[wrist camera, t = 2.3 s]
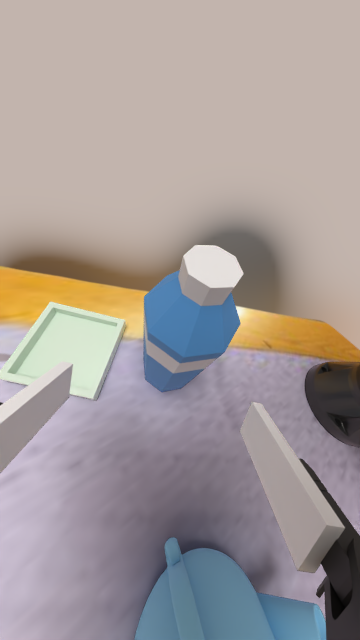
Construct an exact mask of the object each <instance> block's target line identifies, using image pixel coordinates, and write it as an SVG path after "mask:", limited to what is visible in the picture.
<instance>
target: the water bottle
mask: <svg viewBox="0 0 360 640" xmlns="http://www.w3.org/2000/svg"><path fill="white" fill-rule="evenodd" d="M242 275H243V271H242V269H241V267H240V265H239V263H238V261H237V259H236V257H235V256H233V255H231V254H230V253H228V252H226V251H225V250H223V249H221V248H219V247H218V246H210V245H209V246H208V245H195V246H194V247H193V248H192V249H191V250H189V251H188V252H187V253H186V254H185V255H184V256H183V259H182V264H181V268H180V270H179V271H177V272H175V273H172V274H170V275H168V276H166V277H165V278H164V279H163V280H162V281H161V282H160V283H159V284H158V285H156V286H155V287H154V288H153V289H152V290H151V291H150V292H149V293H148V294H146V295H145V296H144V370H145V380H147V381H148V382H149V383H151V384H152V385H153V386H154V387H156V388H157V389H158V390H159V391H161V392H164V391H170V390H175V389H181V388H182V387H183V386H185V385H186V384H187V383H188V382H189V381H191V380H192V379H193V378H194V377H195V376H197V375H198V374H199V373H200V372H201V371H203V370H204V369H205V368H206V367H207V366H209V365H210V364H211V363H212V362H213V361H215V360H216V359H217V358H218V357H219V356H221V355H222V354H223V353H224V352H225V350H226V349H227V347H228V345H229V343H230V341H231V340H232V338H233V336H234V334H235V332H236V331H237V329H238V327H239V325H240V320H239V317H238V314H237V310H236V307H235V304H234V300H233V297H232V294H231V291H232V290H233V288H234V287H235V285H236V284H237V282H238V281H239V279H240V278H241V276H242Z"/></svg>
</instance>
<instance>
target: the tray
mask: <svg viewBox="0 0 360 640" xmlns="http://www.w3.org/2000/svg"><path fill="white" fill-rule="evenodd" d="M125 328H126V323H125V320H123V319H119V318H115V317H111V316H106V315H102V314H98V313H94V312H90V311H86V310H82V309H78V308H74V307H70V306H66V305H62V304H58V303H54V302H50V303H49V304H48V306H47V307H46V308H45V310H44V311H43V313H42V314H41V315H40V317H39V318H38V319H37V321H36V322H35V324H34V325H33V326H32V328H31V329H30V330H29V332H28V333H27V335H26V336H25V337H24V339H23V340H22V341H21V343H20V344H19V346H18V347H17V348H16V350H15V351H14V352H13V354H12V355H11V357H10V358H9V359H8V361H7V362H6V363H5V365H4V366H3V368H2V369H1V370H0V379H1V380H4V381H8V382H13V383H18V384H22V385H27V386H28V385H30V384H31V383H32V382H34V381H35V380H37V379H38V378H39V377H41V376H42V375H43V374H45V373H46V372H48V371H49V370H50V369H52V368H53V367H55V366H56V365H57V364H59V363H60V362H61V361H63V362H68V363H72V364H73V369H72V377H71V386H70V394H69V395H74V396H78V397H83V398H88V399H92V400H97V398H98V396H99V393H100V391H101V388H102V386H103V383H104V381H105V378H106V376H107V373H108V371H109V368H110V365H111V363H112V360H113V358H114V355H115V353H116V350H117V348H118V345H119V343H120V340H121V338H122V335H123V333H124V330H125Z"/></svg>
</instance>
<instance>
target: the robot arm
mask: <svg viewBox="0 0 360 640" xmlns="http://www.w3.org/2000/svg"><path fill="white" fill-rule="evenodd" d="M72 369H73V364H72V363H68V362H63V361H61V362H60V363H59V364H57V365H56V366H55V367H53V368H52V369H50V370H49V371H48V372H46V373H45V374H43V375H42V376H41V377H39V378H38V379H37V380H35V381H34V382H32V383H31V384H30V385H28V386H27V387H25V388H24V389H23V390H21V391H20V392H19V393H17V394H16V395H14V396H13V397H12V398H10V399H9V400H7V401H6V402H5V403H0V473H1V472H2V471H3V470H4V469H5V468H6V467H7V465H8V464H9V463H10V462H11V461H12V460H13V459H14V458H15V457H16V456H17V454H18V453H19V452H20V451H21V450H22V449H23V448H24V447H25V446H26V444H27V443H28V442H29V441H30V440H31V439H32V438H33V437H34V436H35V435H36V433H37V432H38V431H39V430H40V429H41V428H42V427H43V426H44V425H45V423H46V422H47V421H48V420H49V419H50V418H51V417H52V416H53V415H54V414H55V412H56V411H57V410H58V409H59V408H60V407H61V406H62V405H63V404H64V402H65V401H66V400H67V399H68V398H69V394H70V386H71V377H72ZM305 389H306V395H307V399H308V402H309V404H310V406H311V409H312V411H313V412H314V414H315V416H316V417H317V419H318V420H319V422H320V423H321V424H322V425H323V426H324V428H325V429H326V430H327V431H328V432H329V433H331V434H332V435H333V436H334V437H336V438H337V439H338V440H340V441H342V442H344V443H346V444H348V445H352V446H357V447H360V362H326V363H322V364H319V365H316V366H314V367H312V368H311V369H310V370H309V372H308V374H307V376H306V381H305ZM240 433H241V435H242V438H243V440H244V442H245V445H246V447H247V450H248V452H249V455H250V457H251V459H252V462H253V464H254V467H255V469H256V472H257V474H258V476H259V479H260V481H261V484H262V486H263V488H264V491H265V493H266V496H267V498H268V501H269V503H270V505H271V508H272V510H273V513H274V515H275V518H276V520H277V522H278V525H279V527H280V530H281V532H282V535H283V537H284V539H285V542H286V544H287V547H288V549H289V552H290V554H291V556H292V559H293V561H294V564H295V566H296V569H297V571H303V572H310V573H315V572H316V570H317V569H318V567H319V566H320V564H322V566H323V568H324V570H325V572H326V574H327V576H326V577H325V579H324V580H323V582H322V583H321V584H320V586H319V587H318V589H317V593H316V595H317V596H318V597H319V598H320V597H321V595H322V594H323V593H324V592H325V616H326V640H360V536H359V534H358V533H357V532H356V530H355V529H354V527H353V526H352V525H351V523H350V522H349V520H348V519H347V518H346V516H345V515H344V513H343V512H342V511H341V509H340V508H339V506H338V505H337V503H336V502H335V501H334V499H333V498H332V496H331V495H330V494H329V493H328V492H327V489H326V488H325V487H324V485H323V484H322V483H321V482H320V479H319V478H318V477H317V475H316V474H315V472H314V471H313V470H312V469H311V468H310V467H309V466H308V464H307V463H306V462H305V461H304V460H303V459H299V458H298V457H297V456H296V454H295V453H294V451H293V450H292V448H291V447H290V445H289V444H288V442H287V441H286V439H285V438H284V436H283V435H282V433H281V432H280V430H279V429H278V428H277V426H276V425H275V423H274V422H273V420H272V419H271V417H270V416H269V414H268V413H267V411H266V410H265V408H264V407H263V405H262V404H261V403H256V402H251V405H250V407H249V410H248V412H247V415H246V417H245V420H244V422H243V424H242V427H241V429H240Z"/></svg>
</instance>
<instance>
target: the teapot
mask: <svg viewBox="0 0 360 640" xmlns="http://www.w3.org/2000/svg"><path fill="white" fill-rule="evenodd" d="M165 555H166V560H167V568H166V570H165V571H164V572H163V573H162V575H161V576H160V577H159V579H158V581H157V582H156V584H155V586H154V587H153V589H152V591H151V593H150V595H149V597H148V599H147V602H146V604H145V607H144V609H143V612H142V614H141V617H140V621H139V624H138V627H137V630H136V634H135V639H134V640H326V621H325V618H324V616H323V614H322V611H321V609H320V608H319V606H318V605H317V604H314V603H309V602H303V601H298V600H293V599H288V598H283V597H278V596H273V595H267V594H262V593H257V592H256V591H255V589H254V587H253V586H252V584H251V582H250V581H249V579H248V577H247V576H246V574H245V573H244V572H243V570H242V569H241V568H240V567H239V565H238V564H237V563H236V562H235V561H234V560H232V559H231V558H230V557H229V556H227V555H226V554H224V553H222V552H220V551H217V550H214V549H210V548H197V549H194V550H190V551H188V552H186V553H184V554H181V551H180V547H179V544H178V541H177V538H175V537H172V538H169V539H168V540H167V542H166V543H165Z"/></svg>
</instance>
